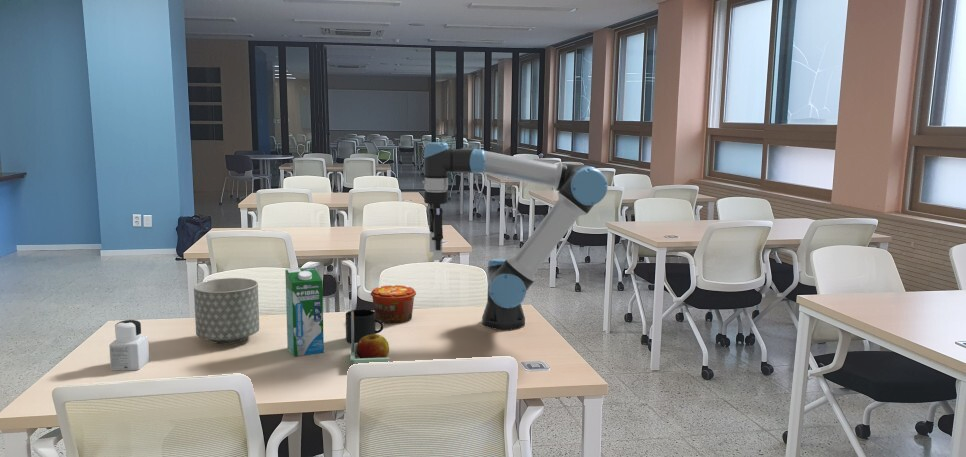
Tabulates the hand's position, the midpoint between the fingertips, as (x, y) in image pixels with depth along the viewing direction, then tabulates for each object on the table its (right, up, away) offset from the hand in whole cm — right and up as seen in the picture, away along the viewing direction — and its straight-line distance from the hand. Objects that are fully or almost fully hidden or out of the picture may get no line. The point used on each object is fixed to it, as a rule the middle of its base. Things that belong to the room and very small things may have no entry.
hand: (435, 255), depth 231 cm
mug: (-23, -27, -2) cm, 36 cm away
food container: (-16, -24, +22) cm, 36 cm away
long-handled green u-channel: (-18, -30, -23) cm, 42 cm away
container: (-85, -30, -29) cm, 95 cm away
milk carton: (-39, -29, -13) cm, 50 cm away
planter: (-66, -27, -4) cm, 71 cm away
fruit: (-17, -31, -22) cm, 42 cm away
